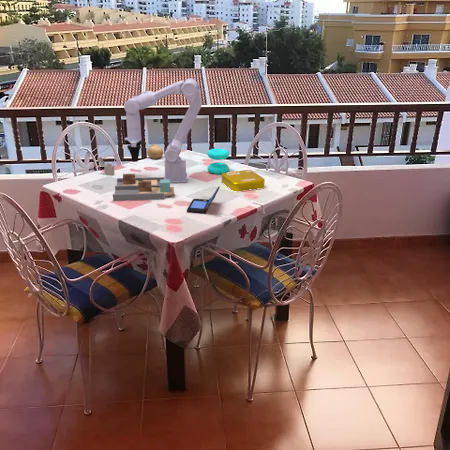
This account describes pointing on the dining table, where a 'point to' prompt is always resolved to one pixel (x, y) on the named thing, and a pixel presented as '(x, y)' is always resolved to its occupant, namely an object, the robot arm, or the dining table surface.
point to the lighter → (107, 167)
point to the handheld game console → (201, 204)
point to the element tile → (242, 180)
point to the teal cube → (165, 185)
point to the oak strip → (147, 188)
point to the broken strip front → (129, 179)
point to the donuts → (218, 166)
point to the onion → (155, 152)
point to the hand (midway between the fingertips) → (135, 158)
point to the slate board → (137, 190)
